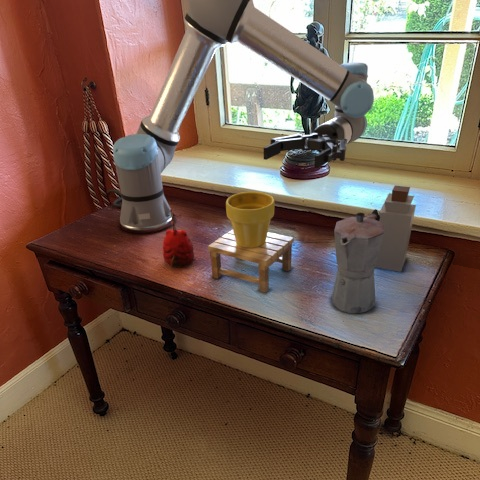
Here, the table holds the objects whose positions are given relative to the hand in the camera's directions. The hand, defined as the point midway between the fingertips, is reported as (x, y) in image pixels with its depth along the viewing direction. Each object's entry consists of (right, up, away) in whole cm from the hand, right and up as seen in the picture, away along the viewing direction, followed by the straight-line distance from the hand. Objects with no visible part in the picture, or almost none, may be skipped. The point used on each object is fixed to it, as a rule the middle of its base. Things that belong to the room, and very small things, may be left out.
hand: (289, 157), depth 105 cm
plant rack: (-9, -26, +2) cm, 28 cm away
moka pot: (+12, -34, -9) cm, 37 cm away
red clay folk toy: (-26, -24, +8) cm, 36 cm away
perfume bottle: (+24, -24, +4) cm, 34 cm away
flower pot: (-9, -20, -2) cm, 22 cm away
